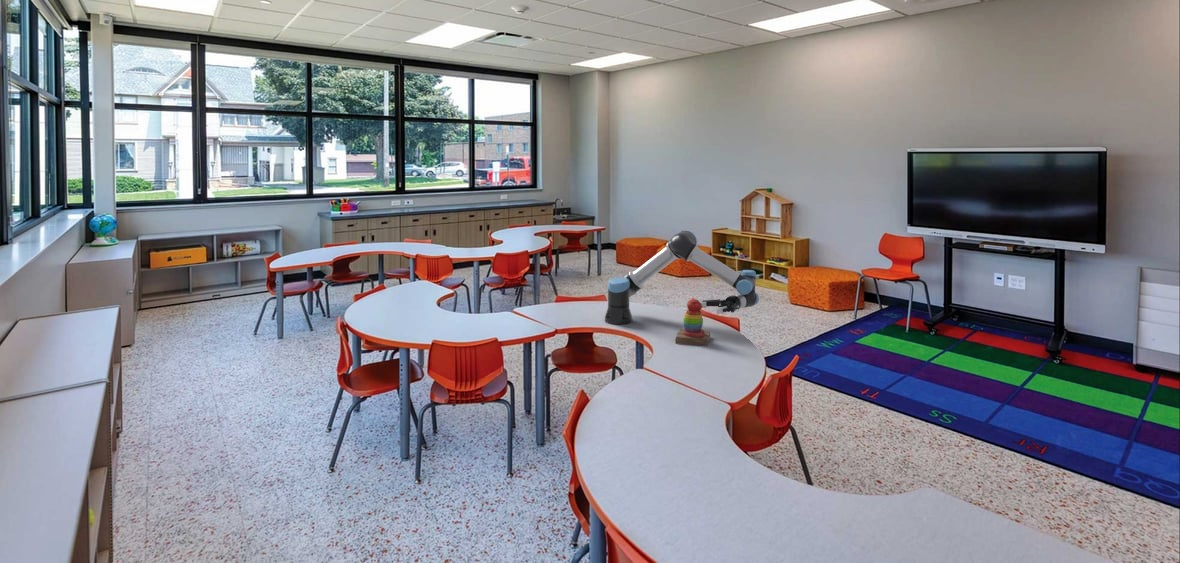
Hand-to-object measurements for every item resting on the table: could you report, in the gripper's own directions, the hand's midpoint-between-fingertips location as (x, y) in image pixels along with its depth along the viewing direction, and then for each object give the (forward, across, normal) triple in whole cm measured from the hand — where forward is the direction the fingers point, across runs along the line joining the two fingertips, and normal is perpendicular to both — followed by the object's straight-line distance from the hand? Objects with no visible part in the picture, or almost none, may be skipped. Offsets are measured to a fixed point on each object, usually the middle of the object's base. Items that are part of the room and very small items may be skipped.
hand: (707, 308), depth 303 cm
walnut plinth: (+10, 0, -14) cm, 17 cm away
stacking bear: (+10, 0, -12) cm, 15 cm away
